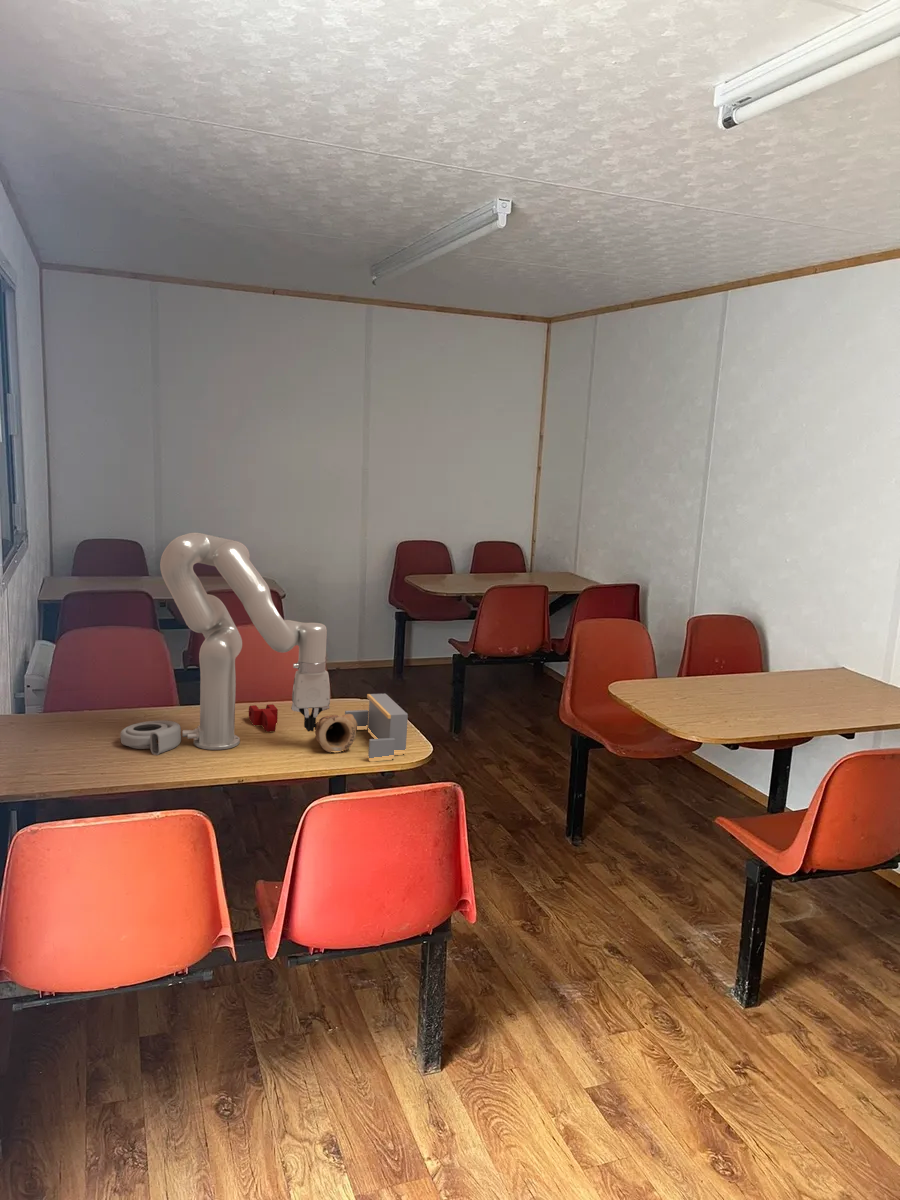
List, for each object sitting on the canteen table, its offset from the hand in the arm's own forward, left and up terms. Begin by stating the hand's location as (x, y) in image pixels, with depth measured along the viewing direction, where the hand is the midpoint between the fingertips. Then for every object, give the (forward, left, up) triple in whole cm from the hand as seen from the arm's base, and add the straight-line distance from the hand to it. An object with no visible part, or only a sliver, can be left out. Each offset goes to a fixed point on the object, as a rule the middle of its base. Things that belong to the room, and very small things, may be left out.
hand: (309, 729), depth 246 cm
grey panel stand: (+20, 0, -5) cm, 20 cm away
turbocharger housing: (-42, +11, -6) cm, 43 cm away
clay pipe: (+8, +1, -6) cm, 10 cm away
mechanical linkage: (-9, +23, -6) cm, 25 cm away
